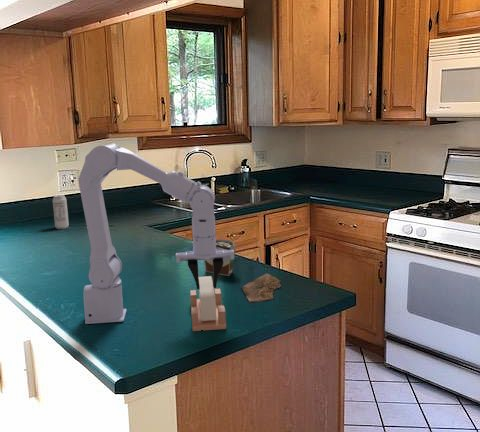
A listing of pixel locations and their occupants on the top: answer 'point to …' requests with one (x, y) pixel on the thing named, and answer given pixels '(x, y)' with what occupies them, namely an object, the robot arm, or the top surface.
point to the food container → (227, 263)
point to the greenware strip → (207, 298)
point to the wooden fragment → (261, 288)
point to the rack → (211, 324)
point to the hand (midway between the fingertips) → (206, 287)
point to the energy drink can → (60, 212)
